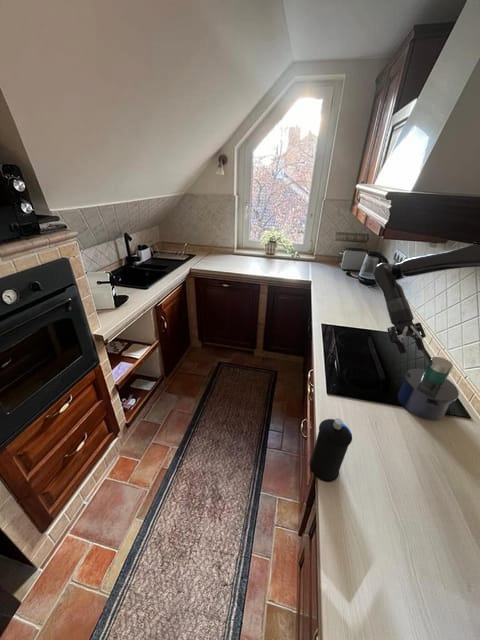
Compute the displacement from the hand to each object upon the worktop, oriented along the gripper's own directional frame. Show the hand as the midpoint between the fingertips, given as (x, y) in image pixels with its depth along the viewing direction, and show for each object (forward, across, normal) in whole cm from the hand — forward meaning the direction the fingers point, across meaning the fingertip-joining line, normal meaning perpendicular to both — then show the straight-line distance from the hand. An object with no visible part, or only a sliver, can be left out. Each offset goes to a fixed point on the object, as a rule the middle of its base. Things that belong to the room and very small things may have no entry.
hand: (412, 351), depth 95 cm
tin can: (+12, 0, -3) cm, 12 cm away
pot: (+19, 0, +4) cm, 20 cm away
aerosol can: (+28, -48, -4) cm, 56 cm away
